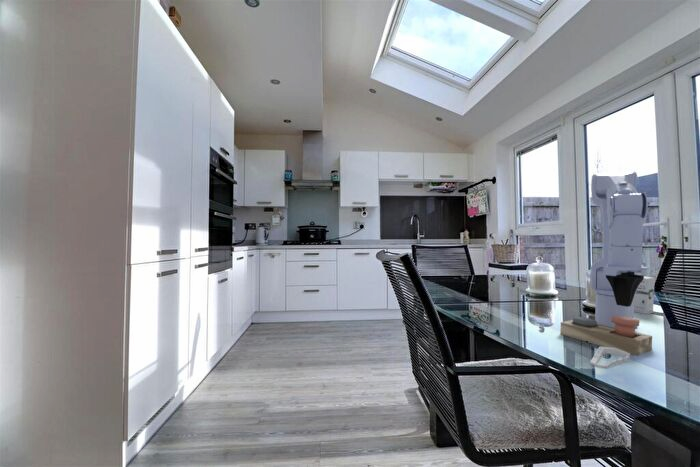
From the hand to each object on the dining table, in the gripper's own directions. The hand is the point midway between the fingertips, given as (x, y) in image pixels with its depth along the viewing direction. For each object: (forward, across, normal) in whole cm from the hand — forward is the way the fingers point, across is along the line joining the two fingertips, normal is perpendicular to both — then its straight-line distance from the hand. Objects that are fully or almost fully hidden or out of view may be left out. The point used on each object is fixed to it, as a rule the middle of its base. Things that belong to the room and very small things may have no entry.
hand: (623, 305), depth 71 cm
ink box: (+10, +46, +14) cm, 49 cm away
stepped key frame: (+10, -11, -2) cm, 15 cm away
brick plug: (+7, 0, 0) cm, 7 cm away
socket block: (+9, 0, +4) cm, 10 cm away
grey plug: (+9, 0, +8) cm, 12 cm away
